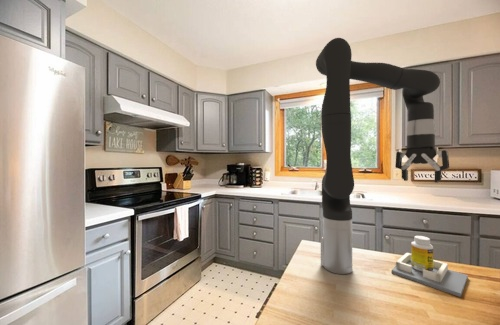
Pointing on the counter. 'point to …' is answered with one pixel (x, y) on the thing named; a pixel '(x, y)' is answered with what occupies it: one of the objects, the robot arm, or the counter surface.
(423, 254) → the supplement bottle
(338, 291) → the counter surface
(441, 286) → the grey board with frame
